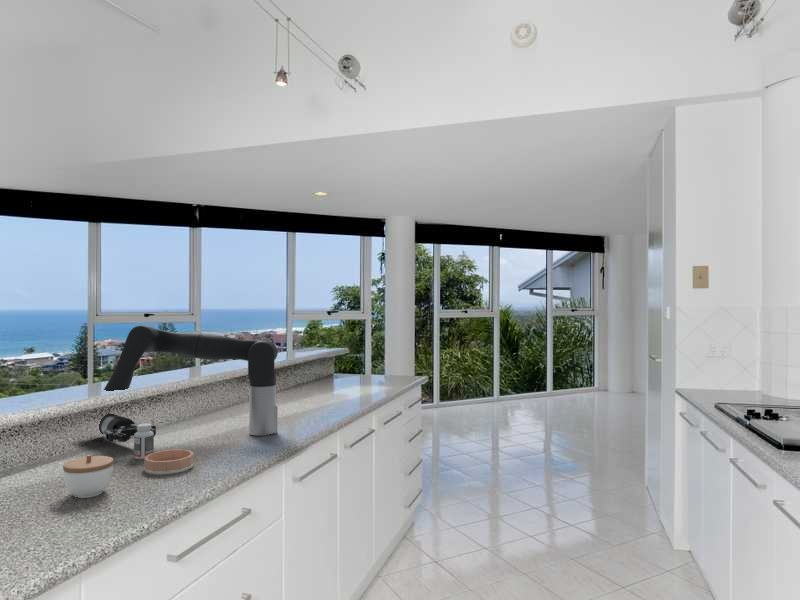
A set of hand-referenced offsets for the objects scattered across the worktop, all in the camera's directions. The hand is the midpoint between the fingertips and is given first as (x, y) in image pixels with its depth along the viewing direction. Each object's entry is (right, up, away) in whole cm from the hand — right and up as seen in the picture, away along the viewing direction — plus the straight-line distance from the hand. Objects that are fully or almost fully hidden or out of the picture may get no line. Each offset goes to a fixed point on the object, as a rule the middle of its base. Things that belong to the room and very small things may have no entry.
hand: (140, 435), depth 165 cm
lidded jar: (+4, -6, -34) cm, 34 cm away
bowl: (+14, -6, -13) cm, 20 cm away
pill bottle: (+2, -6, -2) cm, 7 cm away
